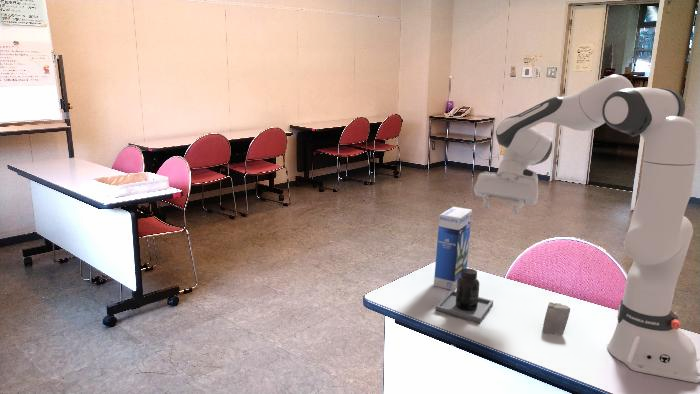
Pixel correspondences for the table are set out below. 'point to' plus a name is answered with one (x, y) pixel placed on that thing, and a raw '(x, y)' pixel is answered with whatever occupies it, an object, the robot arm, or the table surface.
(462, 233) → the string lights box
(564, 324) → the mineral specimen
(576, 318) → the table surface
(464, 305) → the supplement bottle
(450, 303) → the tray
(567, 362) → the table surface
